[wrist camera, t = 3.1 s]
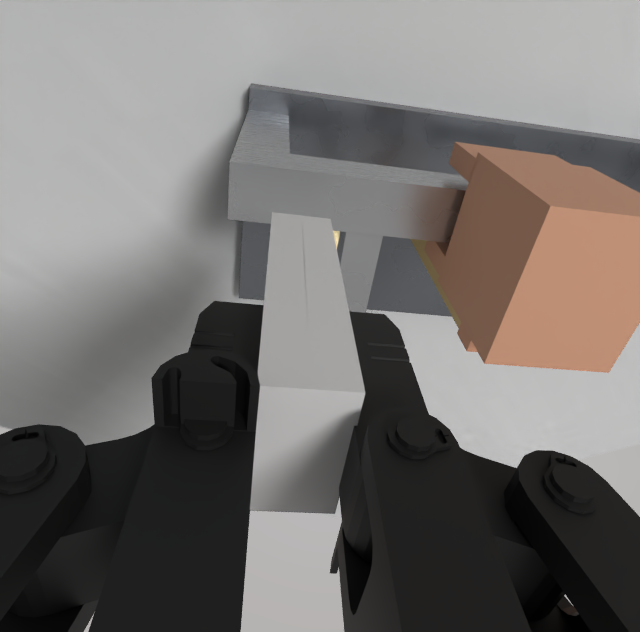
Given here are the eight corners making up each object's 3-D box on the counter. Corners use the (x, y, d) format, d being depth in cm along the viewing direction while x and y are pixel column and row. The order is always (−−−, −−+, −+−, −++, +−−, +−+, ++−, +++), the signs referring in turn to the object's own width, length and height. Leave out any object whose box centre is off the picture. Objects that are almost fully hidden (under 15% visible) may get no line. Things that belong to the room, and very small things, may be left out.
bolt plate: (240, 286, 30) (238, 298, 29) (251, 83, 24) (249, 87, 23) (604, 318, 34) (616, 330, 32) (699, 148, 27) (719, 155, 26)
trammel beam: (244, 212, 27) (224, 309, 18) (250, 105, 24) (229, 161, 15) (644, 256, 31) (791, 356, 22) (695, 167, 27) (890, 242, 19)
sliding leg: (382, 233, 27) (461, 417, 15) (411, 103, 23) (550, 205, 11) (448, 240, 27) (577, 423, 15) (487, 114, 24) (699, 224, 12)
